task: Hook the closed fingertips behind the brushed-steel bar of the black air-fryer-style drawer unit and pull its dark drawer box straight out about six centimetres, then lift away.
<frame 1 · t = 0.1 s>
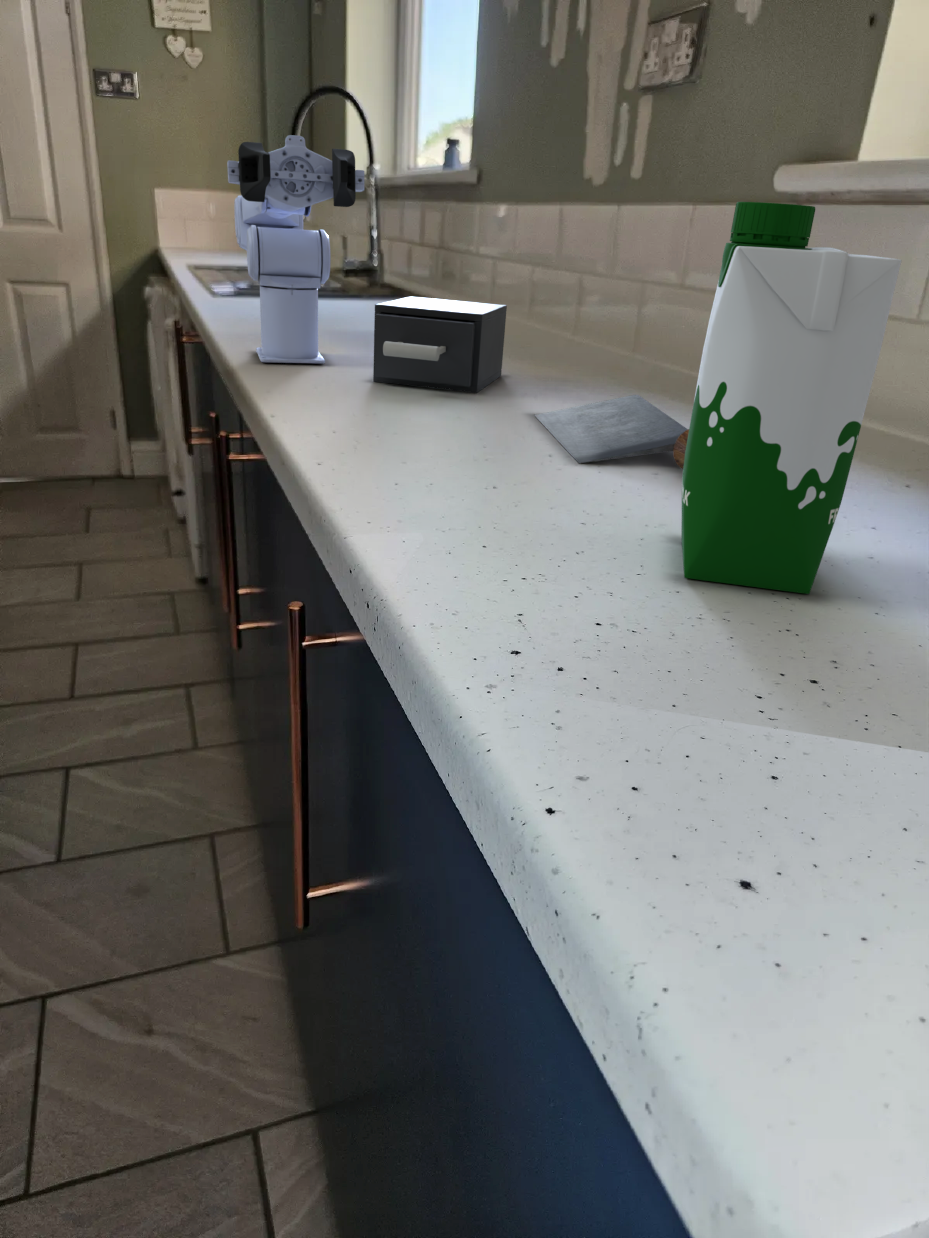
hand: (305, 168, 87), 22 cm above the counter, tool horizontal, fingers open, 7 cm apart
fryer: (440, 378, 107), on the counter
dark drawer box: (431, 346, 101), point 4 cm above the counter, slide at 0.5 cm
milk carton: (741, 569, 54), on the counter
meat cleaver: (635, 461, 77), on the counter
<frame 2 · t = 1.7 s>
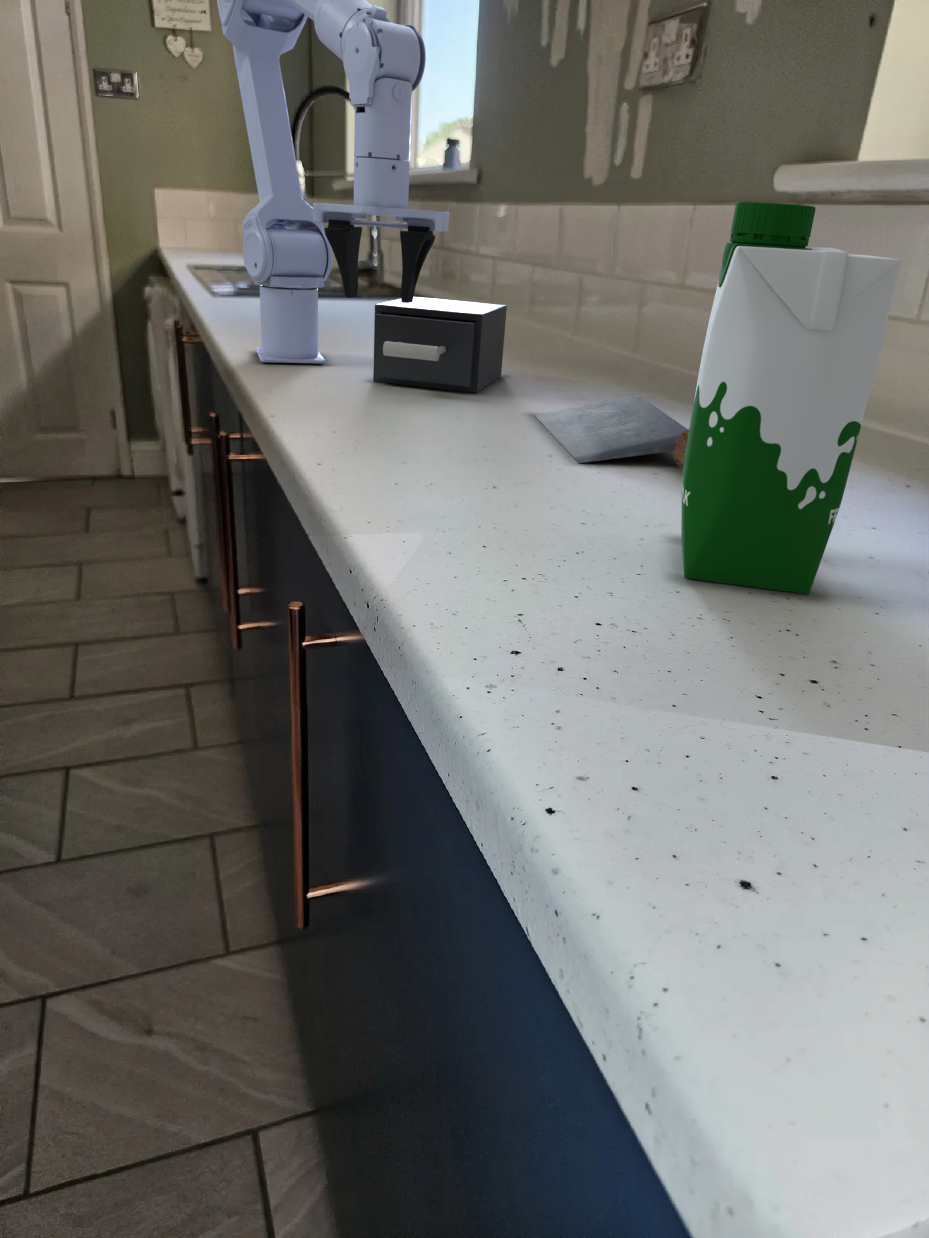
hand: (378, 299, 95), 9 cm above the counter, tool pointing down, fingers open, 6 cm apart
nothing on the counter moved.
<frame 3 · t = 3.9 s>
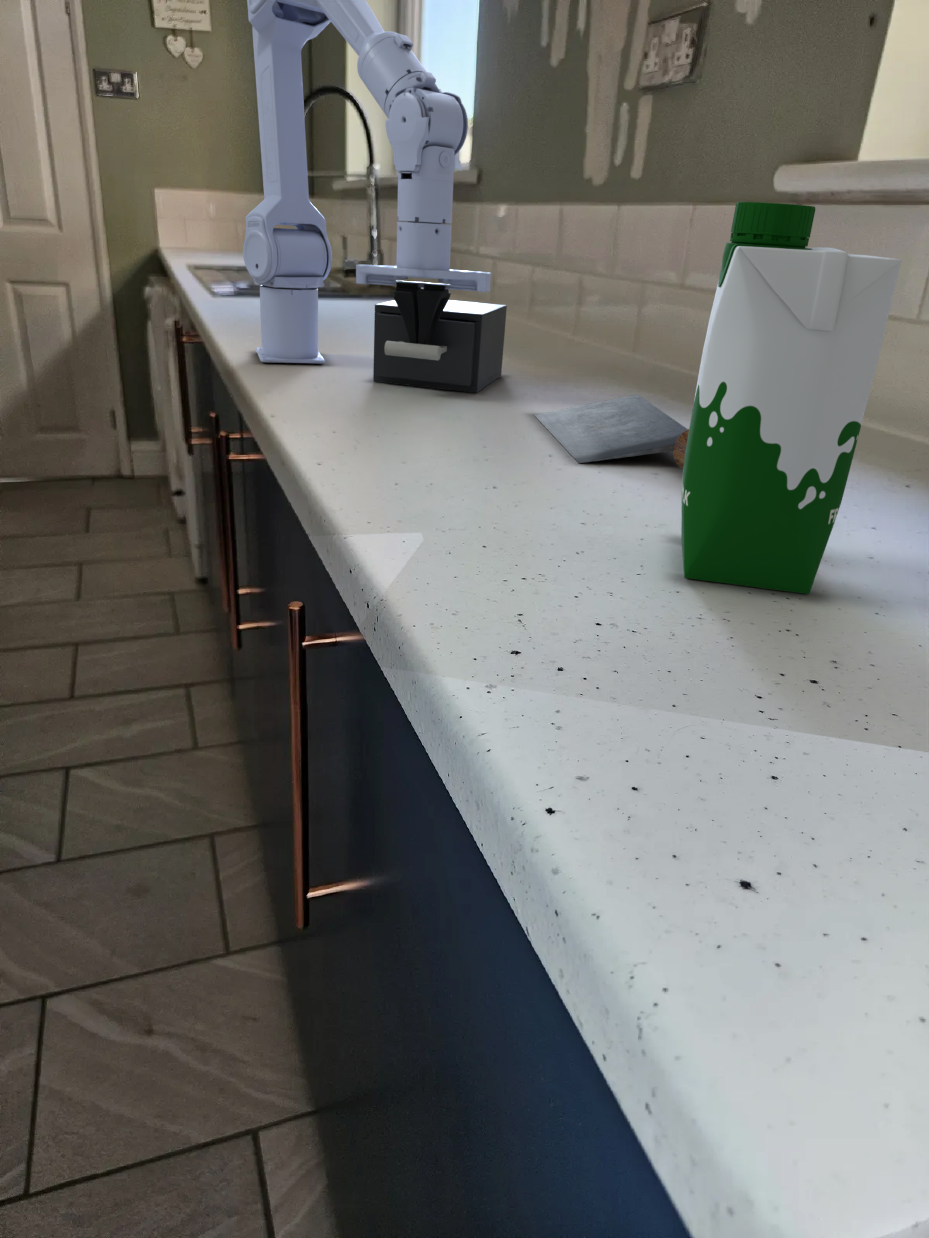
hand: (420, 357, 97), 4 cm above the counter, tool pointing down, fingers closed, pressing on dark drawer box
dark drawer box: (432, 346, 102), point 4 cm above the counter, slide at 0.0 cm, touching fryer, gripper
everything else where it was.
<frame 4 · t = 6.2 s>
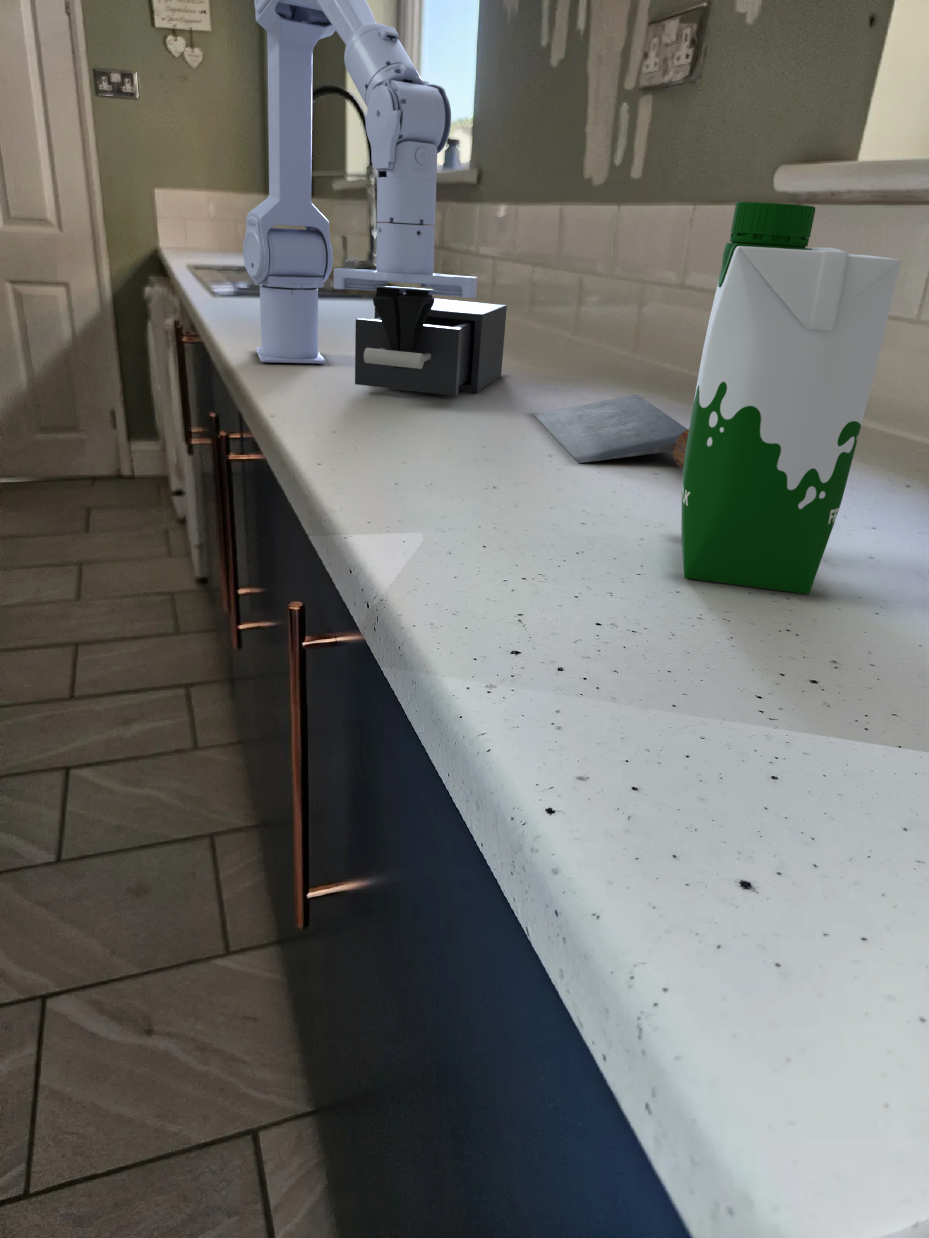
hand: (402, 367, 91), 4 cm above the counter, tool pointing down, fingers closed, pressing on dark drawer box
dark drawer box: (416, 353, 96), point 4 cm above the counter, slide at 6.5 cm, touching gripper
everything else where it was.
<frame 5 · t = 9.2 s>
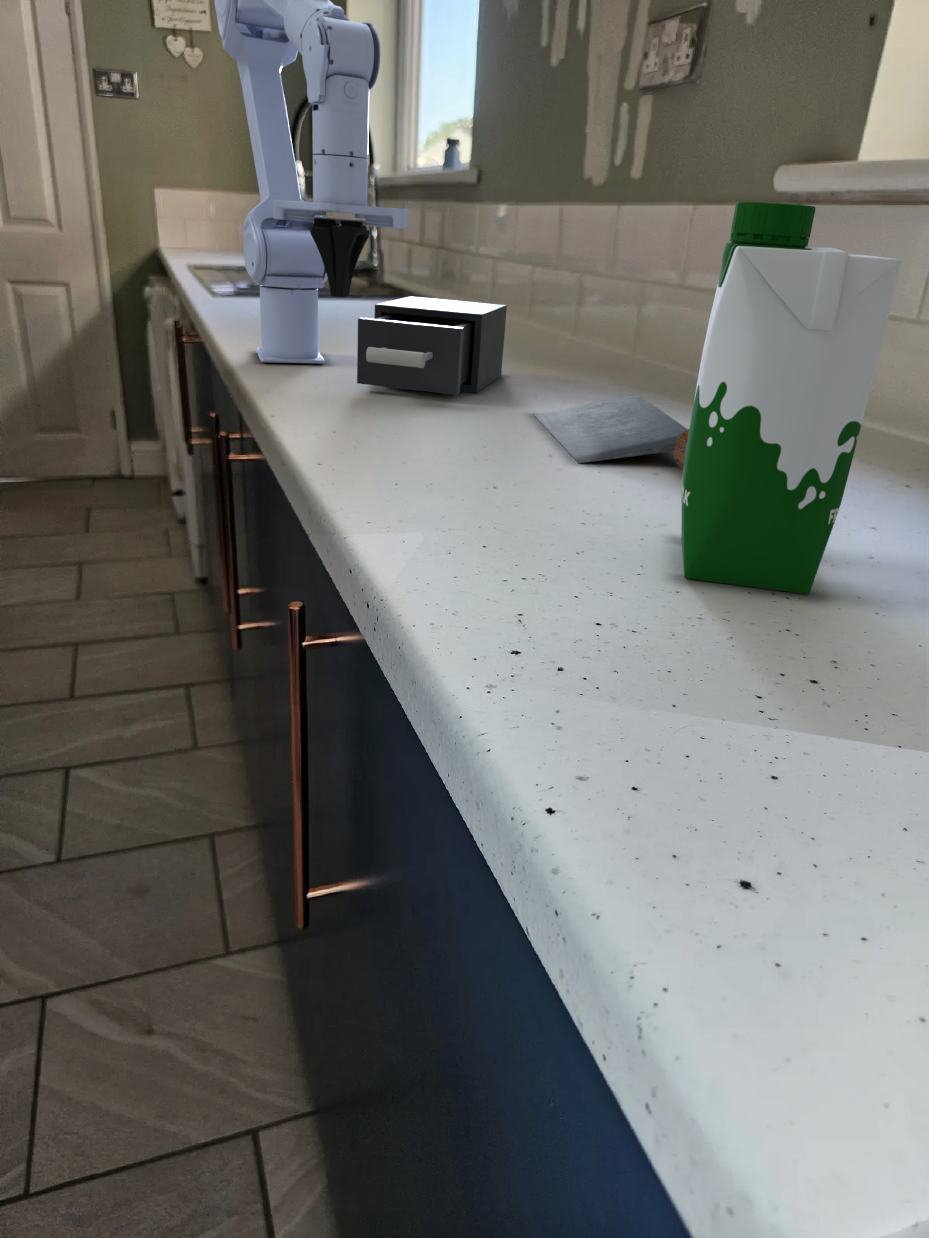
hand: (339, 296, 96), 9 cm above the counter, tool pointing down, fingers closed
dark drawer box: (418, 352, 96), point 4 cm above the counter, slide at 5.8 cm
everything else where it was.
at the end: dark drawer box slide at 5.8 cm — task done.
